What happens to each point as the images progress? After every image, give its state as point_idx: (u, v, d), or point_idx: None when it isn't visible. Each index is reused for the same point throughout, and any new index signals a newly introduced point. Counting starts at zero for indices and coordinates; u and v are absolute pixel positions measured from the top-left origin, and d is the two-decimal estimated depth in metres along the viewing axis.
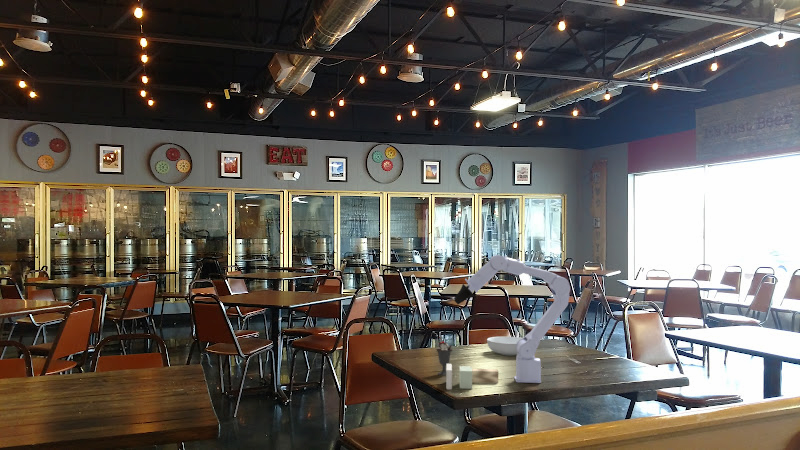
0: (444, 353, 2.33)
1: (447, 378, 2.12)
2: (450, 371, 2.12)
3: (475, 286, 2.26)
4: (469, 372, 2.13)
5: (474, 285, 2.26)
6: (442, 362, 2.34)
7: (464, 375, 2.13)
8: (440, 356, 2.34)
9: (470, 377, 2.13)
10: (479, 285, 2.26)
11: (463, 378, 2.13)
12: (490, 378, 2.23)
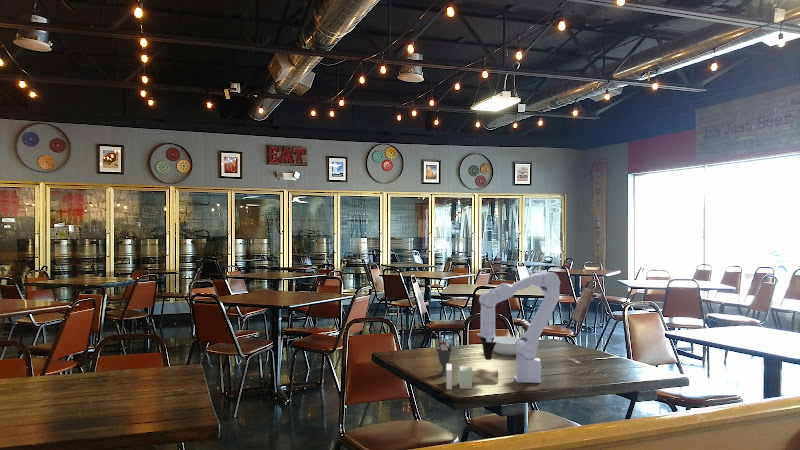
0: (444, 353, 2.33)
1: (447, 378, 2.12)
2: (450, 371, 2.12)
3: (490, 333, 2.22)
4: (469, 372, 2.13)
5: (488, 333, 2.22)
6: (442, 362, 2.34)
7: (464, 375, 2.13)
8: (440, 356, 2.34)
9: (470, 377, 2.13)
10: (492, 329, 2.22)
11: (463, 378, 2.13)
12: (489, 378, 2.23)
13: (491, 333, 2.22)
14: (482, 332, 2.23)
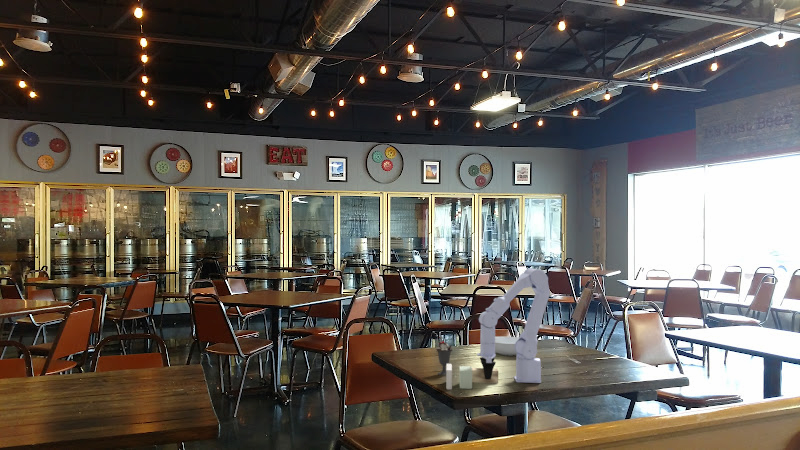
0: (444, 353, 2.33)
1: (447, 378, 2.12)
2: (450, 371, 2.12)
3: (490, 353, 2.22)
4: (469, 372, 2.13)
5: (488, 354, 2.22)
6: (442, 362, 2.34)
7: (464, 375, 2.13)
8: (440, 356, 2.34)
9: (470, 377, 2.13)
10: (492, 350, 2.22)
11: (463, 378, 2.13)
12: None
13: (491, 353, 2.22)
14: (482, 352, 2.23)
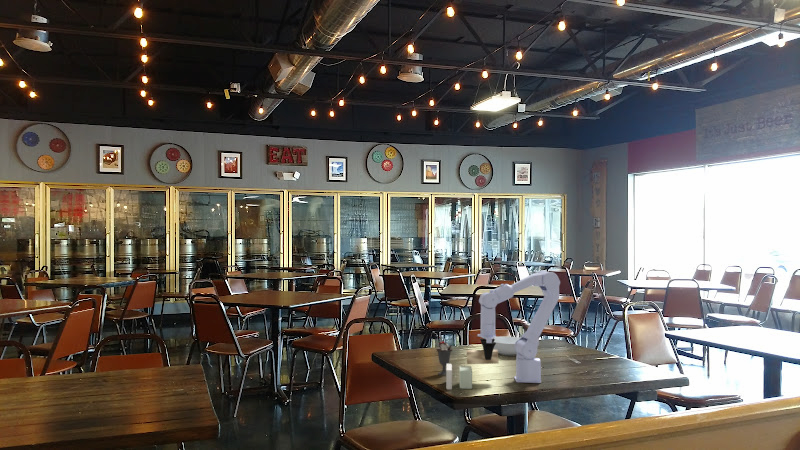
0: (444, 353, 2.33)
1: (447, 378, 2.12)
2: (450, 371, 2.12)
3: (490, 334, 2.22)
4: (469, 372, 2.13)
5: (488, 334, 2.22)
6: (442, 362, 2.34)
7: (464, 375, 2.13)
8: (440, 356, 2.34)
9: (470, 377, 2.13)
10: (492, 330, 2.22)
11: (463, 378, 2.13)
12: None
13: (491, 334, 2.22)
14: (482, 333, 2.23)
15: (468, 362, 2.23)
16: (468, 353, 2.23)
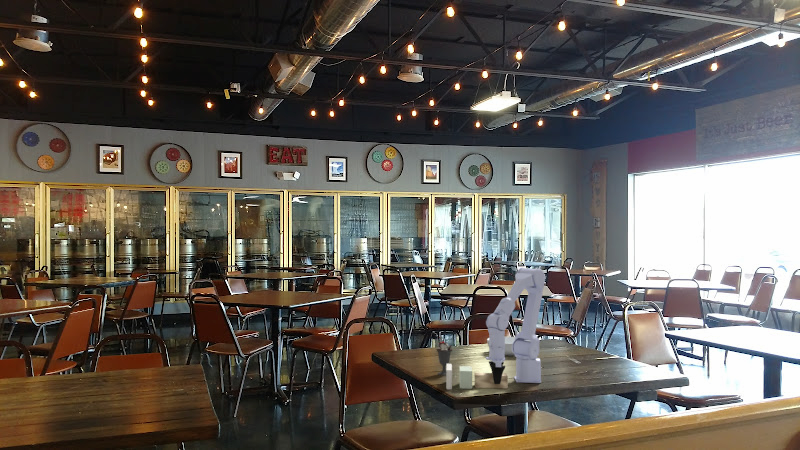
0: (444, 353, 2.33)
1: (447, 378, 2.12)
2: (450, 371, 2.12)
3: (499, 357, 2.14)
4: (469, 372, 2.13)
5: (497, 357, 2.14)
6: (442, 362, 2.34)
7: (464, 375, 2.13)
8: (440, 356, 2.34)
9: (470, 377, 2.13)
10: (501, 353, 2.14)
11: (463, 378, 2.13)
12: None
13: (500, 357, 2.14)
14: (491, 356, 2.15)
15: (476, 385, 2.15)
16: (476, 376, 2.15)
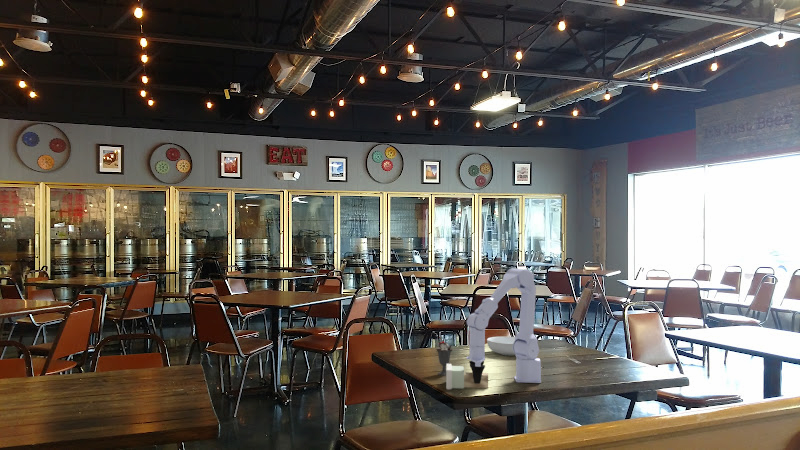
0: (444, 353, 2.33)
1: (447, 378, 2.12)
2: (450, 371, 2.12)
3: (479, 357, 2.14)
4: (460, 372, 2.13)
5: (477, 357, 2.14)
6: (442, 362, 2.34)
7: (456, 375, 2.14)
8: (440, 356, 2.34)
9: (462, 377, 2.13)
10: (481, 353, 2.15)
11: (455, 378, 2.14)
12: None
13: (480, 357, 2.15)
14: (471, 355, 2.16)
15: None
16: None
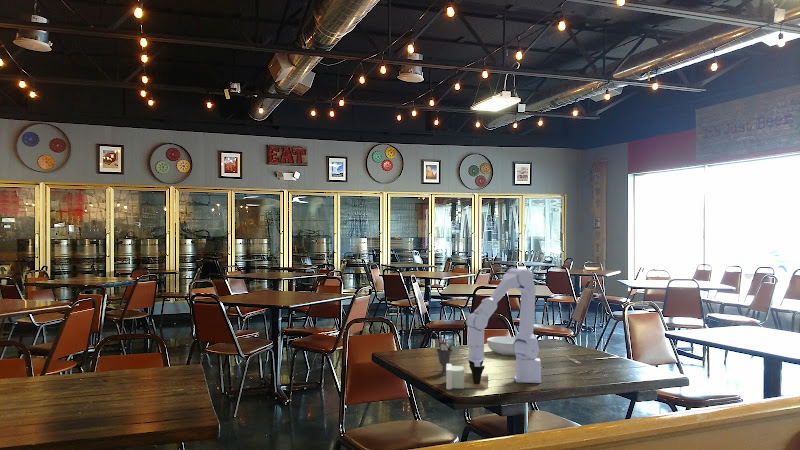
0: (444, 353, 2.33)
1: (447, 378, 2.12)
2: (450, 371, 2.12)
3: (478, 357, 2.14)
4: (460, 372, 2.13)
5: (477, 357, 2.14)
6: (442, 362, 2.34)
7: (456, 375, 2.14)
8: (440, 356, 2.34)
9: (462, 377, 2.13)
10: (480, 353, 2.15)
11: (455, 378, 2.14)
12: None
13: (480, 357, 2.15)
14: (470, 355, 2.16)
15: None
16: None
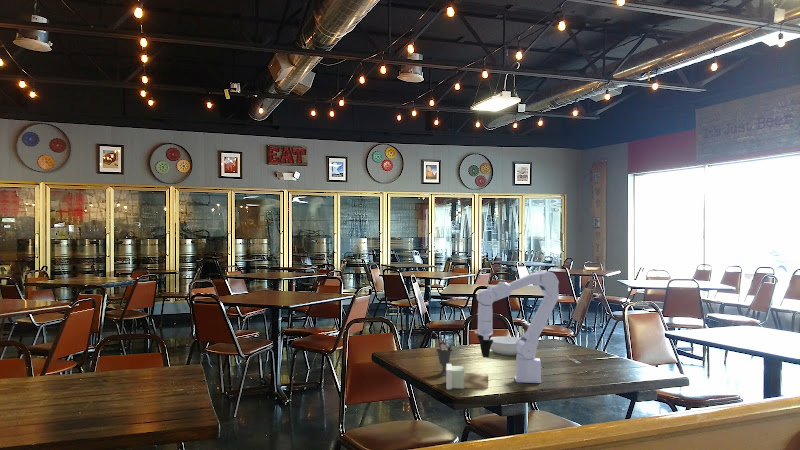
0: (444, 353, 2.33)
1: (447, 378, 2.12)
2: (450, 371, 2.12)
3: (487, 331, 2.23)
4: (460, 372, 2.13)
5: (485, 331, 2.23)
6: (442, 362, 2.34)
7: (456, 375, 2.14)
8: (440, 356, 2.34)
9: (462, 377, 2.13)
10: (489, 327, 2.24)
11: (455, 378, 2.14)
12: (479, 383, 2.15)
13: (488, 331, 2.23)
14: (479, 330, 2.24)
15: None
16: None
